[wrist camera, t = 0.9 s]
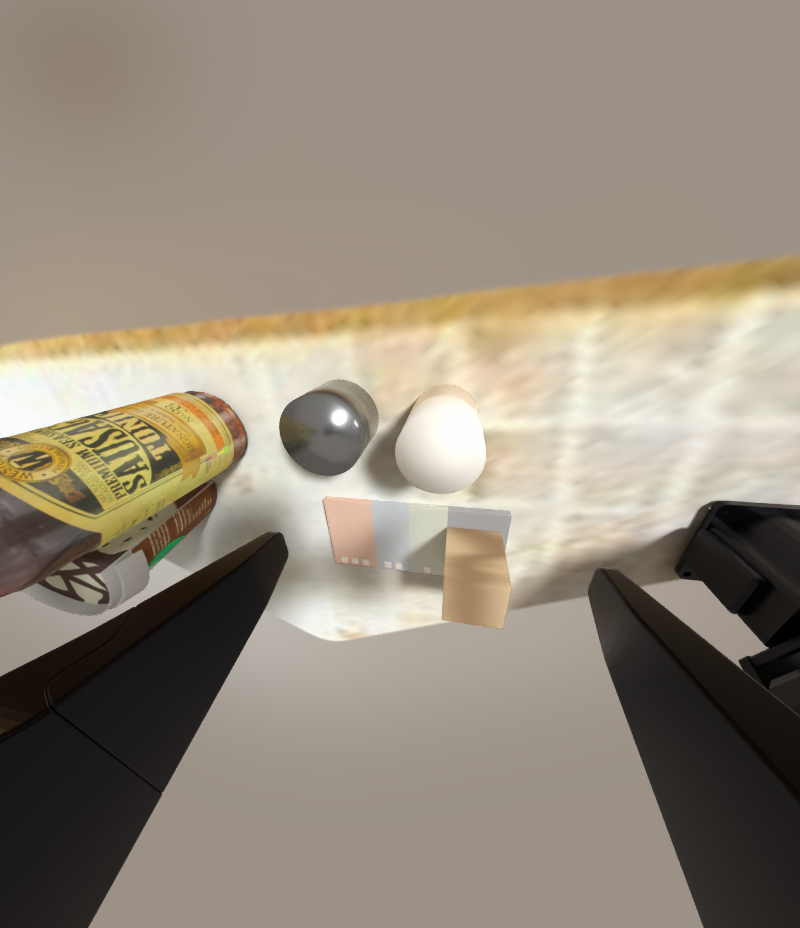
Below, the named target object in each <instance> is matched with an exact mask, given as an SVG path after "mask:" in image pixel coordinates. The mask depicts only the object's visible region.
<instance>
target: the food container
mask: <svg viewBox="0 0 800 928" xmlns="http://www.w3.org/2000/svg"><path fill="white" fill-rule="evenodd" d="M216 499H217V490H216V486H215V482H214V481H206V482H205V483H203V484H202V485H200V486H198V487H197V488H195V489H193V490H192V491H190V492H188V493H187V494H185V495H184V496H182V497H180V498H179V499H177V500H175V501H174V502H172V503H171V504H169V505H167V506H166V507H164V508H162V509H161V510H159V511H158V512H156V513H154V514H153V515H151V516H150V517H148V518H146V519H145V520H143V521H142V522H140V523H138V524H137V525H135V526H134V527H132V528H130V529H129V530H127V531H126V532H124V533H122V534H121V535H119V536H118V537H116V538H114V539H113V540H111V541H110V542H108V543H106V544H105V545H103V546H102V547H100V548H98V549H97V550H95V551H93V552H90V553H86V554H84V555H82V556H81V557H79V558H77V559H75V560H73V561H72V562H70V563H68V564H67V565H66V566H64V567H63V568H61V569H59V570H58V571H56V572H54V573H53V574H51V575H50V576H48V577H47V578H46V579H44V580H42V581H40V582H38V583H36V584H34V585H32V586H30V587H28V588H26V589H24V590H22V591H20V592H22V593H23V594H25V595H27V596H29V597H31V598H33V599H35V600H37V601H39V602H41V603H44V604H46V605H49V606H51V607H54V608H56V609H59V610H62V611H65V612H69V613H73V614H78V615H87V616H92V615H98V614H102V613H103V612H105V611H106V610H108V609H112V608H115V607H117V606H119V605H120V604H122V603H123V602H125V601H127V600H128V599H130V598H131V597H133V596H134V595H136V594H138V593H139V592H141V591H142V590H144V588H145V587H146V586H147V584H148V581H149V571H150V570H151V569H152V568H153V567H154V566H155V565H156V564H157V563H158V562H159V561H160V560H161V559H162V558H163V557H164V556H165V555H166V554H167V553H168V552H169V551H171V550H172V549H173V548H174V547H175V546H176V545H177V544H178V543H179V542H180V541H181V540H182V539H183V538H184V537H185V536H186V535H187V534H188V533H189V532H190V531H191V530H192V529H193V528H194V527H195V526H196V525H197V524H198V523H199V522H200V521H201V520H202V519H203V518H204V517H206V516H207V515H208V514H209V513H210V512H211V511H212V509H213V508H214V506H215V503H216Z"/></svg>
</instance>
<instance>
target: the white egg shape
mask: <svg viewBox="0 0 800 928" xmlns="http://www.w3.org/2000/svg"><path fill="white" fill-rule="evenodd" d="M395 458H396V462H397V465H398V468H399V470H400V471H401V473H402V475H403V476H404V477H405V478H406V479H407V480H408V481H409V482H410V483H411V484H412V485H414V486H416V487H417V488H419V489H421V490H424V491H427V492H430V493H436V494H447V493H453V492H457V491H460V490H462V489H464V488H466V487H468V486H469V485H471V484H472V483H473V482H474V481H475V480H476V479H477V478H478V477H479V475H480V474H481V472H482V470H483V468H484V465H485V460H486V448H485V442H484V436H483V430H482V424H481V418H480V412H479V408H478V405H477V403H476V401H475V400H474V398H473V397H472V396H471V395H470V394H469V393H468V392H467V391H465V390H464V389H462V388H460V387H457V386H453V385H439V386H435V387H432V388H430V389H428V390H427V391H425V392H424V393H423V394H422V395H421V396H420V397H419V398H418V399H417V401H416V402H415V404H414V406H413V409H412V411H411V413H410V415H409V417H408V419H407V421H406V423H405V425H404V427H403V429H402V431H401V433H400V435H399V437H398V439H397V442H396V447H395Z"/></svg>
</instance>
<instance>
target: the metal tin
mask: <svg viewBox="0 0 800 928" xmlns="http://www.w3.org/2000/svg"><path fill="white" fill-rule="evenodd" d="M377 428H378V412H377V408H376V406H375V403H374V401H373V400H372V398H371V397H370V395H369V394H368V393H367V392H366V391H365V390H364V389H363V388H361V387H360V386H358V385H357V384H355V383H352V382H349V381H346V380H332V381H329V382H326V383H324V384H322V385H321V386H319V387H317V388H315V389H313V390H311V391H310V392H308V393H306V394H304V395H302V396H300V397H299V398H297V399H295V400H293V401H292V402H290V403H289V404H288V405H287V406H286V408H285V409H284V411H283V412H282V415H281V418H280V424H279V429H280V436H281V440H282V442H283V445H284V447H285V449H286V450H287V452H288V453H289V455H290V456H291V457H292V458H293V459H294V460H295V461H296V462H297V463H298V464H299V465H301V466H302V467H303V468H305V469H307V470H309V471H311V472H313V473H316V474H320V475H326V476H332V475H338V474H341V473H344V472H346V471H347V470H349V469H350V468H351V467H353V465H354V464H355V463H356V461H357V460H358V459H359V457H360V456H361V454H362V453H363V451H364V450H365V448H366V447H367V445H368V444H369V442H370V441H371V440H372V438H373V437H374V435H375V433H376V431H377Z"/></svg>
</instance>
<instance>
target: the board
mask: <svg viewBox="0 0 800 928" xmlns="http://www.w3.org/2000/svg"><path fill="white" fill-rule="evenodd" d="M323 502H324V506H325V511H326V516H327V521H328V526H329V531H330V536H331V541H332V546H333V551H334V556H335V560H336V563H343V564H351V565H359V566H367V567H375V568H383V569H391V570H399V571H407V572H415V573H423V574H431V575H439V576H444V567H445V552H446V537H447V527H455V528H466V529H477V530H487V531H498V532H502V538H503V544H504V549H505V548H506V543H507V537H508V532H509V527H510V521H511V513H510V511H500V510H487V509H475V508H462V507H450V506H437V505H425V504H412V503H400V502H388V501H375V500H363V499H350V498H338V497H326V498H325V499H324V501H323Z"/></svg>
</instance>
